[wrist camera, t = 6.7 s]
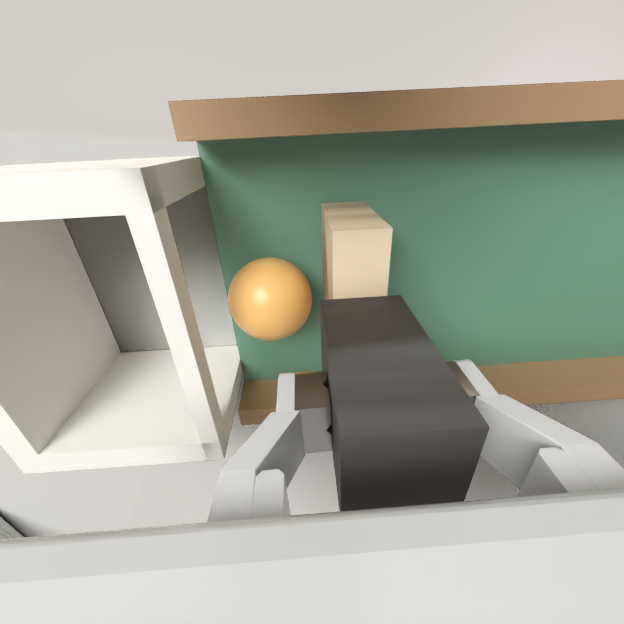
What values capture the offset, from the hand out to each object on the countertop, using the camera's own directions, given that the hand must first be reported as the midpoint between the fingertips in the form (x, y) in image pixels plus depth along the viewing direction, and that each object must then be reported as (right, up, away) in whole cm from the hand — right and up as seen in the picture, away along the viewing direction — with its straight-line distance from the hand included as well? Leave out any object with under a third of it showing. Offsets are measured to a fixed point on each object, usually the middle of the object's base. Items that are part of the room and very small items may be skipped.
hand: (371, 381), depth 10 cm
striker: (0, +4, +6) cm, 8 cm away
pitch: (+2, +5, +8) cm, 10 cm away
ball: (-4, +3, +5) cm, 7 cm away
